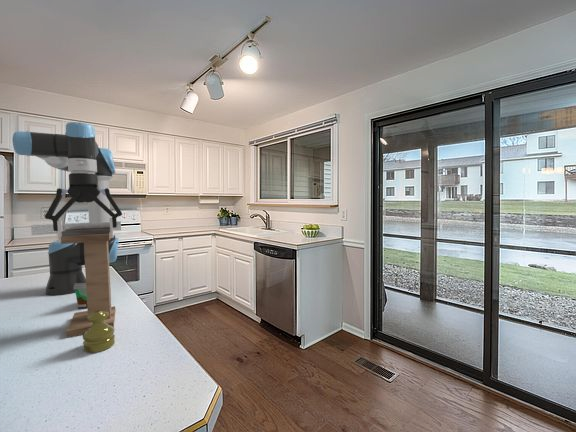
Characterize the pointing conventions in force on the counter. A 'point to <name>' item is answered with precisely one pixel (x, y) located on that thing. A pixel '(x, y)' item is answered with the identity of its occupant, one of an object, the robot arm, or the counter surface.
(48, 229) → the steel bar
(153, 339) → the counter surface
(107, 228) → the walnut shelf
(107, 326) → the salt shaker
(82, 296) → the food container
